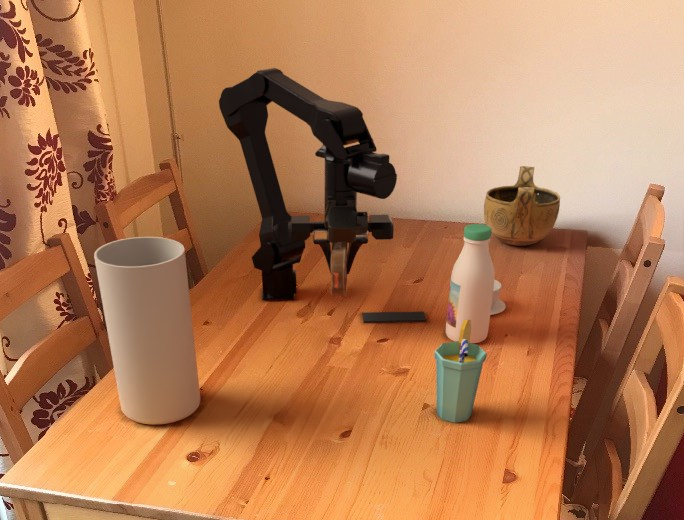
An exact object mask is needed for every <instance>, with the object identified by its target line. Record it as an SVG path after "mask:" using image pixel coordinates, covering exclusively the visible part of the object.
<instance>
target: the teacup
mask: <svg viewBox="0 0 684 520" xmlns="http://www.w3.org/2000/svg"><path fill="white" fill-rule="evenodd" d="M502 287H503V286H502V283H501V282H500V281H498V280H496V279H494V288H493V297H492V305H491V313H490V316H491V315H497V314H500V313H502V312H503V311H504V310H505V309H506V307H507V306H506V303H505V302H504V301H502V300H501V299H499V298H500V295H501V291H502Z"/></svg>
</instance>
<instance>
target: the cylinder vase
mask: <svg viewBox="0 0 684 520" xmlns="http://www.w3.org/2000/svg"><path fill="white" fill-rule="evenodd" d="M185 251H186V249H185V247H184V245H183V244H182V243H181V242H179V241H177V240H174V239H172V238H166V237H160V236H159V237H158V236H137V237H128V238H122V239H117V240H114V241H111V242H108V243H106V244H103V245H101V246H99V247H98V248H97V249H96V250H95V252H94V253H93V258H94V263H95V269H96V275H97V280H98V285H99V291H100V292H99V293H100V297H101V303H102V308H103V315H104V320H105V326H106V330H107V337H108V342H109V349H110V354H111V360H112V365H113V366H112V367H113V370H114V377H115V382H116V388H117V394H118V400H119V405H120V409H121V412H122V413H123V414H124V416H125V417H127V418H128V419H129V420H131V421H134V422H136V423H139V424H144V425H153V426H154V425H167V424H172V423H175V422H176V423H177V422H179V421H181V420H184V419H186V418H188V417H189V416H191V415H192V414H194V413H195V412H196V411H197V410H198V408H199V406H200V404H201V392H200V391H201V389H200V381H199V372H198V362H197V353H196V344H195V334H194V325H193V317H192V316H193V315H192V307H191V299H190V298H191V296H190V288H189V277H188V269H187V261H186V260H187V259H186V252H185Z"/></svg>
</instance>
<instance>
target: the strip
mask: <svg viewBox="0 0 684 520" xmlns="http://www.w3.org/2000/svg"><path fill="white" fill-rule="evenodd" d="M361 315H362V321H363V323H364V324H368V323H369V324H375V323H377V324H379V323H426V322H427V318H426V315H425V311H378V312H376V311H374V312H373V311H372V312H371V311H370V312H362V314H361Z"/></svg>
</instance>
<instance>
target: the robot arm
mask: <svg viewBox="0 0 684 520" xmlns="http://www.w3.org/2000/svg"><path fill="white" fill-rule="evenodd" d="M271 103H274V104H276V105H277V106H279V107H280V108H282V109H283V110H285V111H287V112H288V113H290V114H291V115H293V116H295V117H297V118H298V119H299V120H301V121H303V122H304V123H306V125H308V126H309V127H310V130H311V133H312V135H313V136H314V137H315V138H316V139H317V140H318V141H319V142H320V143H321V144H322V145H321V146H320V148H318V150H316V151H315V152H314V155H315V156H316V157H318V158H320V159H321V158H322V159H324V213H323V215H324V219H323V221H311V216H310V215H291V214H290V213H289V212H288V210H287V206H286V204H285V203H286V202H285V200H284V196H283V193H282V188H281V186H280V182H279V179H278V178H279V177H278V175H277V174H278V173H277V171H276V168H275V167H276V166H275V163H274V159H273V156H272V154H271V150H270V146H269V142H268V139H267V135H266V129H267V126H268V125H267V124H268V119H269V110H268V107H267V106H268V105H270V104H271ZM218 107H219V111H220V113H221V116H222V118H223V121H224V123H225V126H226V128H227V129H228V130H229V131H230V132H231V133H232V134H233V135H234V137H235V138H236V139H237V140H238V141H239V143H240V147H241V151H242V154H243V157H244V161H245V164H246V167H247V172H248V175H249V178H250V181H251V184H252V188H253V192H254V195H255V199H256V203H257V206H258V209H259V212H260V215H261V223H260V226H259V227H260V228H259V232H258V237H259V238H258V239H259V243H260V247H259V248H258V249H257V250H256V252H255V253H254V254H253V255H252V256H251V260H252V264H253V268H254V269H256V270H260V271H261V284H262V285H261V286H262V292H261V293H262V294H261V300H262V301H293V300H295V295H296V294H297V270H296V269H294V265H295V264H300V263H301V261H302V256H303V253H304V251H305V249H306V241H307V240H308V239H309V238H310V237H311V234H312V239H313V240H312V242H313V244H314V245H319V247H320V248H321V251H322V253H323V254H324V257H325V261H326V263H327V266H328V269H329V273H330V274H331V250H332V246H331V244H332V243H337V242H347V244H348V246H347V249H348V251H347V252H348V255H347V263H346V273H347V275H350V272H351V269H352V266H353V264H354V261H355V259H356V256H357V253H358V252H359V250H360V248H361V247H362V246H363V245H367V244H368V243H369V237H368V235H369V233H371V236H372V237H373V238H374V240H377V241H379V240H392V239H394V230H395V229H394V222H393V219H392V217H391V216H390V215H389V214H368V212H367V211H358V206H357V205H358V194H360V195H361V194H362V195H364V196H365V195H366V196H367V197H368V196H369V197H372V198H376V199H379V200H386V199H388V198H389V197H390V196H391V195H392V194H393V192H394V191H395V187H396V186H397V179H398V174H397V172H396V168H395V166H394V165H393V164H392V163H391V162H390V155H389V154H387V153H377V150H378V149H377V147H376V144H375V142H374V139H373V137H372V135H371V132H370V129H369V128H368V126H367V123H366V122H365V119H364V114H363V112H362V110H361V109H360V108H359V107H357V106H355V105H352V104H348V103H345V102H342V101H336V100H329V99H326V98H323V97H322V96H320V95H319V94H317V93H315V92H314V91H312V90H311V89H309V88H307V87H306V86H304V85H303V84H301V83H299V82H297V81H296V80H294V79H292V78H291V77H289V76H287V75H286V74H284V72H283V71H282V70H281V69H279V68H276V67H272V68H266V69H259V70H257V71H256V72H254V73H253V74H251V75H250V76H249V77H247V78H246V79H244V80H242V81H240V82H238V83H236V84H235V85H233V86H228V87H225V88H224V89H222V91H221V93H220V97H219V99H218ZM352 144H353V145H352ZM368 215H369V216H368Z"/></svg>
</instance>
